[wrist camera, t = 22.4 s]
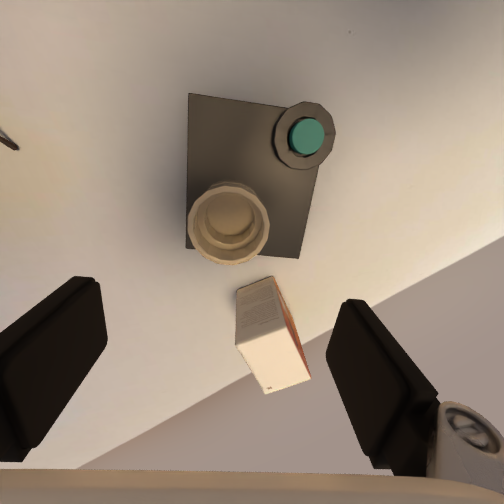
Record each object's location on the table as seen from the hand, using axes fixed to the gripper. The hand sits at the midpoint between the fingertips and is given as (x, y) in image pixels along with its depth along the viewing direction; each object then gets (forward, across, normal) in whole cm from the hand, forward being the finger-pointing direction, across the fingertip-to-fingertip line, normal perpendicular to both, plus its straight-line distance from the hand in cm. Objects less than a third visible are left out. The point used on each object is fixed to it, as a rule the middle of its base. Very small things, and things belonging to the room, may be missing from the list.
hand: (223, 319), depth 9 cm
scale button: (+18, -6, -8) cm, 21 cm away
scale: (+21, -2, -2) cm, 21 cm away
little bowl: (+19, 0, +1) cm, 19 cm away
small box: (+21, -6, +14) cm, 26 cm away
